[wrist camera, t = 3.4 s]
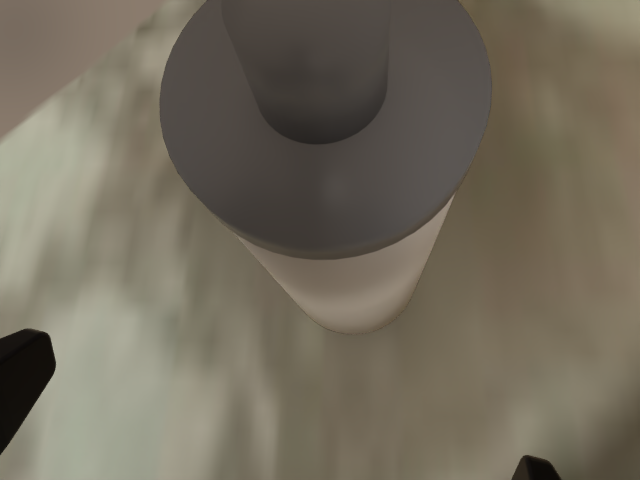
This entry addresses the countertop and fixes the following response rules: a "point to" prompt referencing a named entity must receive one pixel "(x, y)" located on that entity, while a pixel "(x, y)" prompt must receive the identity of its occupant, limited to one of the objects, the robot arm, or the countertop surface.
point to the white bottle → (329, 139)
